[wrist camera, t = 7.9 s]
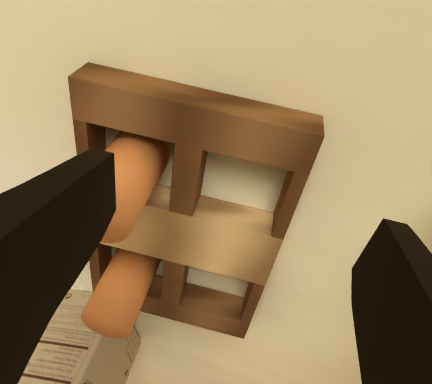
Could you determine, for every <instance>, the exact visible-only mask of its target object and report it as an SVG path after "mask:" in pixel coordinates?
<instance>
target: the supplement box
mask: <svg viewBox="0 0 432 384" xmlns="http://www.w3.org/2000/svg"><path fill="white" fill-rule="evenodd" d="M92 293H93V292H87V291H78V290H69V291H68V293H67V294H66V296H65V297H64V299H63V301H62V302H61V304H60V305H59V307H58V308H57V310H56V312H55V313H54V315H53V317H52V318H51V320H50V322H49V324H48V325H47V327H46V329H45V331H44V333H43V335H42V337H41V339H40V341H39V343H38V345H37V347H36V349H35V350H34V352H33V354H32V356H31V358H30V360H29V362H28V364H27V366H26V368H25V370H24V372H23V374H22V376H21V379H20V381H19V383H18V384H125V382H126V380H127V377H128V375H129V372H130V369H131V367H132V364H133V362H134V359H135V356H136V354H137V351H138V348H139V346H140V343H141V340H140V338H139V337H138V335H137V333H136V331H135V328H134V326H133V328H132V331H131V333H130V335H129V336H128V337H126V338H122V339H114V338H108V337H105V336H102V335H100V334H97V333H95V332H94V331H92V330H91V329H89V328H88V327H87V326H86V325H85V324H84V323H83V321H82V319H81V313H82V311H83V310H84V308H85V306H86V304H87V302H88V301H89V299H90V297H91V295H92Z"/></svg>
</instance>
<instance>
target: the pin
mask: <svg viewBox="0 0 432 384" xmlns="http://www.w3.org/2000/svg"><path fill="white" fill-rule="evenodd" d="M160 261H161V259H159V258H155V257H151V256H147V255H143V254H139V253H136V252H132V251H128V250H124V249H120V248H117V250H116V252H115V254H114V255H113V257H112V259H111V261H110V263H109V265H108V266H107V268H106V270H105V272H104V274H103V275H102V277H101V279H100V281H99V283H98V284H97V286H96V288H95V290H94V292H93V293H92V295H91V297H90V299H89V301H88V302H87V304H86V306H85V308H84V310H83V311H82V313H81V319H82V321H83V323H84V324H85V325H86V326H87V327H88V328H89V329H91V330H92V331H94V332H95V333H97V334H100V335H102V336H105V337H108V338H114V339H122V338H126V337H128V336H129V335H130V333H131V331H132V328H133V326H134V324H135V321H136V319H137V316H138V314H139V311H140V309H141V307H142V304H143V302H144V299H145V297H146V294H147V292H148V290H149V287H150V285H151V282H152V280H153V278H154V275H155V273H156V270H157V268H158V265H159V263H160Z"/></svg>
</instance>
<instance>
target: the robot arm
mask: <svg viewBox="0 0 432 384" xmlns="http://www.w3.org/2000/svg"><path fill="white" fill-rule="evenodd" d="M115 211H116V187H115V160H114V153H112V152H107V151H103V150H99V149H95V148H91V149H89V150H87V151H85V152H83V153H81V154H79V155H77V156H75V157H73V158H71V159H69V160H67V161H65V162H63V163H62V164H60V165H58V166H56V167H54V168H52V169H50V170H48V171H46V172H44V173H42V174H40V175H38V176H36V177H34V178H32V179H30V180H28V181H27V182H25V183H23V184H20V185H18V186H16V187H14V188H12V189H10V190H7V191H5V192H3V193H1V194H0V384H18V383H19V381H20V379H21V376H22V374H23V372H24V370H25V368H26V366H27V364H28V362H29V360H30V358H31V356H32V354H33V352H34V350H35V349H36V347H37V345H38V343H39V341H40V339H41V337H42V335H43V333H44V331H45V329H46V327H47V325H48V324H49V322H50V320H51V318H52V317H53V315H54V313H55V312H56V310H57V308H58V307H59V305H60V304H61V302H62V301H63V299H64V297H65V296H66V294H67V293H68V291H69V290H70V288H71V287H72V285H73V284H74V282H75V281H76V279H77V278H78V276H79V275H80V273H81V271H82V270H83V268H84V267H85V265H86V264H87V262H88V261H89V259H90V258H91V256H92V255H93V253H94V251H95V250H96V248H97V247H98V245H99V244H100V242H101V240H102V239H103V236H104V234H105V232H106V230H107V228H108V226H109V224H110V222H111V220H112V218H113V215H114V213H115ZM351 290H352V312H353V320H354V327H355V335H356V343H357V350H358V357H359V365H360V372H361V379H362V384H432V254H431V252H430V251H429V250H428V249H427V247H426V246H425V245H424V244H423V242H422V241H421V240H420V239H419V237H418V236H417V235H416V234H415V233H414V231H413V230H412V229H411V228H410V227H409V226H408V225H407V224H404V223H400V222H396V221H392V220H388V219H384V218H383V220H382V221H381V223H380V224H379V226H378V228H377V229H376V231H375V232H374V234H373V236H372V237H371V239H370V240H369V242H368V244H367V245H366V247H365V248H364V250H363V252H362V253H361V255H360V256H359V258H358V260H357V261H356V263H355V264H354V266H353V268H352V287H351Z"/></svg>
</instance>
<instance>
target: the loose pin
mask: <svg viewBox="0 0 432 384" xmlns="http://www.w3.org/2000/svg"><path fill="white" fill-rule="evenodd" d="M105 151H107V152H112V153H114V160H115V187H116V211H115V213H114V215H113V218H112V220H111V222H110V224H109V226H108V228H107V230H106V232H105V234H104V236H103V239H102V240H101V242H103V243H117V242H121V241H123V240H125V239H126V238H127V237H128V236H129V234H130V233H131V231H132V229H133V227H134V225H135V223H136V221H137V220H138V218H139V216H140V214H141V212H142V210H143V208H144V206H145V205H146V203H147V201H148V199H149V197H150V195H151V193H152V191H153V189H154V188H155V186H156V184H157V182H158V180H159V178H160V176H161V174H162V173H163V171H164V169H165V167H166V165H167V163H168V161H169V159H170V148H169V145H168V143H167V141H163V140H159V139H155V138H150V137H146V136H142V135H138V134H134V133H129V132H125V131H120V132H119V133H118V135H117V136H116V137H115V138H114V140H113V141H112V142H111V143H110V144H109V146H108V147H107V148H106V149H105Z"/></svg>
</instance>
